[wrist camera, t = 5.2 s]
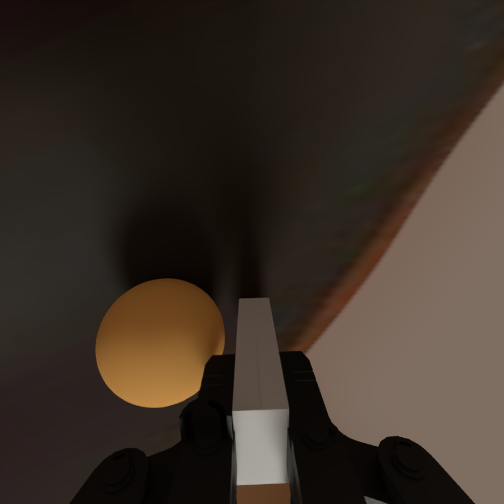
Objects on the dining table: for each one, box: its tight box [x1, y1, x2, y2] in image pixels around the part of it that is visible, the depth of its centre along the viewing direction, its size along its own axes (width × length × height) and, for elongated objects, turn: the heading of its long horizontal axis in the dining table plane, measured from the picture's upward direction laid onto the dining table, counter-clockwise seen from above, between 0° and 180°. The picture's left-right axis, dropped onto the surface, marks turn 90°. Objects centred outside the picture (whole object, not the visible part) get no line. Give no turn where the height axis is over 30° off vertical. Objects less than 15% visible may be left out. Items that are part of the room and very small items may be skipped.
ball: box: [96, 278, 225, 408], centre depth 12 cm, size 6×6×6 cm
